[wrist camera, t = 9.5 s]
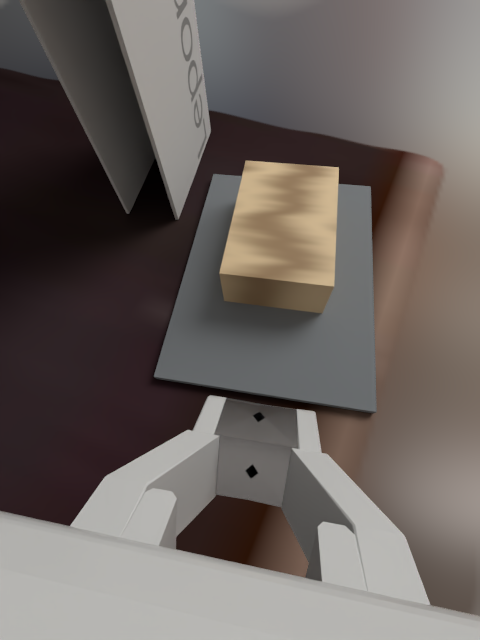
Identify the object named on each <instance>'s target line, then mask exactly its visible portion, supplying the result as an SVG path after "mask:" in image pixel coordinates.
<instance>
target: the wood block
mask: <svg viewBox="0 0 480 640" xmlns="http://www.w3.org/2000/svg"><path fill="white" fill-rule="evenodd" d="M338 178H339V167H325V166H312V165H298V164H284V163H271V162H257V161H246V162H245V166H244V171H243V175H242V179H241V183H240V188H239V192H238V196H237V200H236V205H235V209H234V213H233V217H232V221H231V226H230V230H229V234H228V238H227V243H226V247H225V251H224V255H223V259H222V264H221V268H220V272H219V275H220V280H221V286H222V291H223V297H224V301H228V302H236V303H244V304H252V305H259V306H267V307H275V308H283V309H291V310H299V311H307V312H315V313H323V311H324V309H325V306H326V304H327V302H328V300H329V297H330V295H331V293H332V291H333V288H334V280H335V255H336V229H337V203H338Z"/></svg>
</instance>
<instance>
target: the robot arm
mask: <svg viewBox="0 0 480 640" xmlns="http://www.w3.org/2000/svg"><path fill="white" fill-rule="evenodd" d="M215 494H217V495H223V496H229V497H235V498H241V499H247V500H248V499H249V500H252V501H256V502H261V503H265V504H270V505H274V506H279V507H282V511H283V513H284V515H285V517H286V519H287V521H288V523H289V525H290V526H291V528H292V530H293V532H294V534H295V536H296V538H297V540H298V542H299V544H300V546H301V548H302V550H303V552H304V554H305V556H306V558H307V560H308V562H309V565H308V569H307V574H306V578H304V577H299V576H295V575H290V574H285V573H281V572H276V571H272V570H267V569H263V568H258V567H253V566H249V565H244V564H240V563H235V562H231V561H226V560H221V559H217V558H212V557H208V556H203V555H199V554H194V553H189V552H185V551H180V550H176V536H177V535H178V534H179V533H180V532H181V531H182V530H183V529H184V528H185V527H186V526H187V525H188V524H189V523H190V522H191V521H192V520H193V519H194V518H195V517H196V516H197V515H198V514H199V513H200V512H201V511H202V510H203V509H204V507H205V506H206V505H207V504H208V503H209V502H210V501H211V500H212V499H213V498H214V497H215ZM0 640H480V616H477V615H473V614H468V613H463V612H459V611H454V610H450V609H445V608H441V607H435V606H431V605H430V603H429V600H428V598H427V595H426V592H425V589H424V587H423V584H422V581H421V579H420V576H419V573H418V570H417V568H416V565H415V562H414V560H413V557H412V554H411V551H410V549H409V546H408V543H407V541H406V538H405V536H404V535H403V534H402V533H401V531H400V530H399V529H398V528H397V527H396V526H395V525H394V524H393V523H392V522H391V521H390V520H389V519H388V518H387V517H386V516H385V515H384V514H383V512H382V511H381V510H380V509H378V507H377V506H376V505H375V504H374V503H373V502H372V501H371V500H370V499H369V498H368V497H367V496H366V495H365V494H364V492H363V491H362V490H361V489H360V488H359V487H358V486H357V485H356V484H355V483H354V482H353V481H352V480H351V479H350V478H349V477H348V475H347V474H346V473H345V472H344V471H343V470H342V469H341V468H340V467H339V466H338V465H337V464H336V463H335V462H334V461H333V460H332V459H331V458H330V456H329V455H328V454H324V453H321V446H320V440H319V433H318V426H317V420H316V413H315V412H314V411H309V410H300V409H290V408H283V407H276V406H269V405H261V404H259V403H253V402H247V401H242V400H236V399H231V398H225V397H219V396H212V395H210V396H209V397H207V400H206V402H205V404H204V406H203V408H202V411H201V413H200V415H199V417H198V420H197V422H196V424H195V426H194V429H193V431H190V430H187V431H185V432H183V433H181V434H180V435H178V436H176V437H174V438H172V439H171V440H169V441H167V442H165V443H164V444H162V445H160V446H158V447H157V448H155V449H153V450H151V451H149V452H148V453H146V454H144V455H142V456H141V457H139V458H137V459H135V460H134V461H132V462H130V463H128V464H127V465H125V466H123V467H121V468H119V469H118V470H116V471H114V472H112V473H111V474H109V475H107V476H105V478H104V479H103V480H102V482H101V483H100V485H99V486H98V487H97V489H96V490H95V492H94V493H93V495H92V496H91V497H90V499H89V500H88V502H87V503H86V504H85V506H84V507H83V509H82V510H81V511H80V513H79V514H78V516H77V517H76V518H75V520H74V521H73V523H72V524H71V525H70V526H66V525H61V524H57V523H52V522H48V521H43V520H39V519H34V518H29V517H25V516H20V515H16V514H11V513H7V512H2V511H0Z"/></svg>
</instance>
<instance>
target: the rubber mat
mask: <svg viewBox="0 0 480 640" xmlns="http://www.w3.org/2000/svg"><path fill="white" fill-rule="evenodd" d="M241 179H242V176H231V175H218V174H214V175H213V178H212V182H211V185H210V188H209V192H208V195H207V198H206V202H205V205H204V209H203V212H202V215H201V219H200V222H199V225H198V229H197V232H196V236H195V239H194V242H193V246H192V249H191V252H190V256H189V259H188V263H187V266H186V269H185V273H184V276H183V279H182V283H181V286H180V289H179V293H178V296H177V300H176V303H175V306H174V310H173V313H172V316H171V320H170V323H169V327H168V330H167V333H166V337H165V340H164V343H163V347H162V350H161V354H160V357H159V360H158V364H157V367H156V370H155V374H154V377H155V378H156V379H161V380H167V381H173V382H179V383H186V384H192V385H198V386H205V387H211V388H217V389H223V390H230V391H236V392H242V393H248V394H255V395H261V396H267V397H274V398H280V399H286V400H292V401H299V402H305V403H311V404H317V405H324V406H330V407H336V408H342V409H349V410H355V411H361V412H368V413H376V412H377V411H376V373H375V335H374V297H373V259H372V221H371V187H370V186H357V185H344V184H338V203H337V229H336V255H335V280H334V288H333V291H332V293H331V295H330V297H329V300H328V302H327V304H326V306H325V309H324V311H323V313H315V312H307V311H299V310H291V309H283V308H275V307H267V306H259V305H252V304H244V303H236V302H228V301H224V297H223V291H222V286H221V280H220V275H219V272H220V268H221V264H222V259H223V255H224V251H225V247H226V243H227V238H228V234H229V230H230V226H231V221H232V217H233V213H234V209H235V205H236V200H237V196H238V192H239V188H240V183H241Z"/></svg>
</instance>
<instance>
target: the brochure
mask: <svg viewBox="0 0 480 640" xmlns="http://www.w3.org/2000/svg"><path fill="white" fill-rule="evenodd" d="M19 1H20V3H21V5H22V7H23V9H24V11H25V13H26V15H27V17H28V19H29V21H30V23H31V25H32V27H33V29H34V31H35V33H36V35H37V37H38V39H39V41H40V43H41V45H42V47H43V49H44V51H45V53H46V55H47V57H48V59H49V61H50V63H51V65H52V66H53V68H54V70H55V73H56V74H57V77H58V79H59V81H60V83H61V85H62V86H63V88H64V90H65V92H66V94H67V96H68V98H69V100H70V102H71V104H72V106H73V108H74V110H75V112H76V114H77V116H78V118H79V120H80V122H81V124H82V126H83V128H84V130H85V132H86V134H87V136H88V138H89V140H90V142H91V144H92V146H93V148H94V150H95V152H96V154H97V156H98V158H99V160H100V162H101V164H102V166H103V168H104V170H105V172H106V174H107V176H108V178H109V180H110V182H111V184H112V186H113V188H114V190H115V192H116V194H117V196H118V198H119V199H120V201H121V203H122V205H123V207H124V209H125V211H126V213H127V214H129V213H130V211H131V209H132V207H133V205H134V203H135V200H136V198H137V196H138V194H139V192H140V190H141V187H142V185H143V183H144V181H145V179H146V177H147V174H148V172H149V170H150V168H151V166H152V164H153V162H154V159H155V157H156V160H157V163H158V167H159V170H160V173H161V176H162V179H163V182H164V185H165V189H166V192H167V195H168V198H169V201H170V204H171V207H172V210H173V214H174V217H175V220H179V217H180V214H181V211H182V209H183V206H184V203H185V200H186V198H187V195H188V192H189V189H190V187H191V184H192V181H193V179H194V176H195V173H196V170H197V168H198V165H199V162H200V159H201V157H202V154H203V151H204V148H205V146H206V143H207V140H208V138H209V135H210V132H211V128H210V121H209V113H208V107H207V98H206V90H205V82H204V74H203V67H202V59H201V51H200V44H199V36H198V28H197V20H196V13H195V5H194V0H19Z"/></svg>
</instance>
